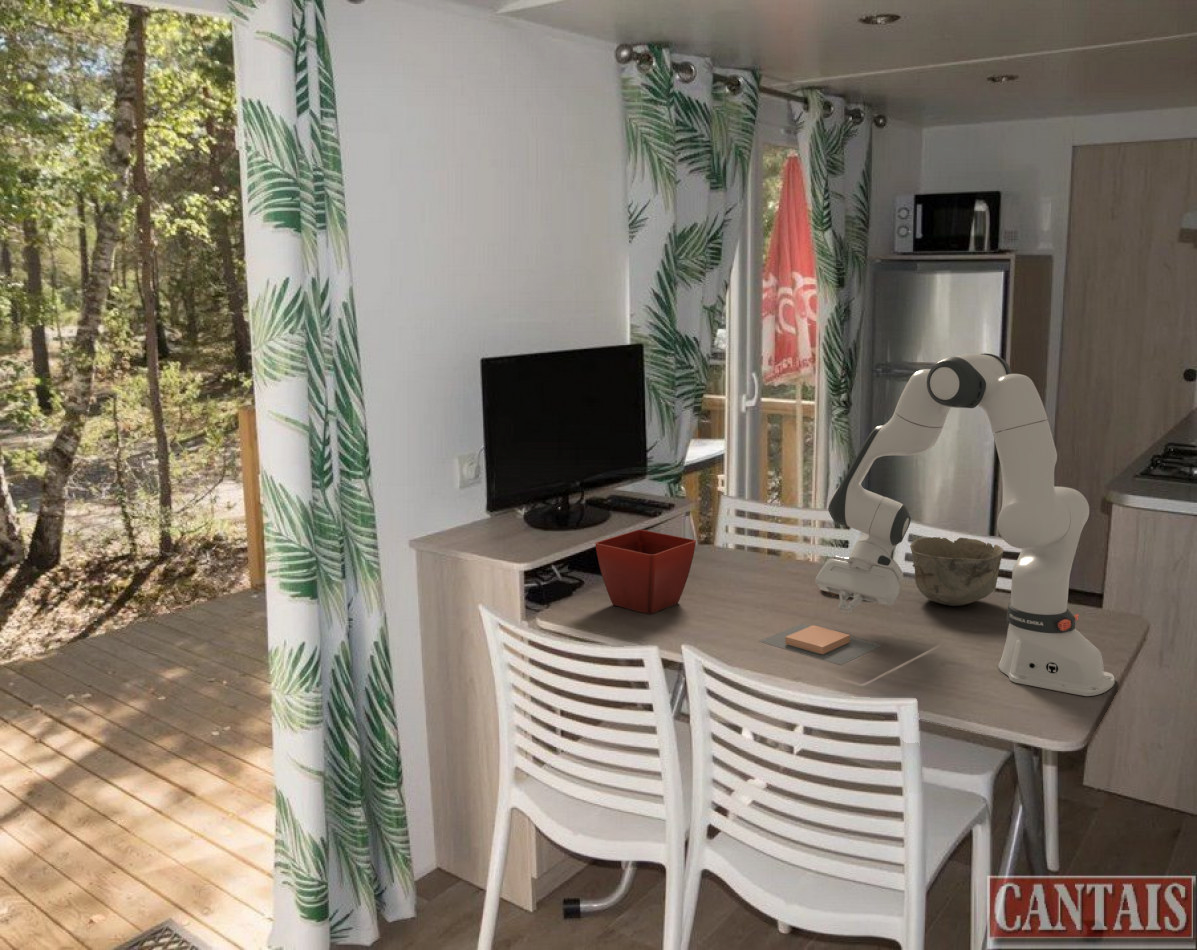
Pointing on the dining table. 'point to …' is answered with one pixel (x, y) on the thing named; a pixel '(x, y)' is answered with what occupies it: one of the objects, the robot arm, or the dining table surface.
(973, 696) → the dining table surface
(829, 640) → the tile
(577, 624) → the dining table surface
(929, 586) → the bowl
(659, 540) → the plant pot
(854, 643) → the mat
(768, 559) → the dining table surface
